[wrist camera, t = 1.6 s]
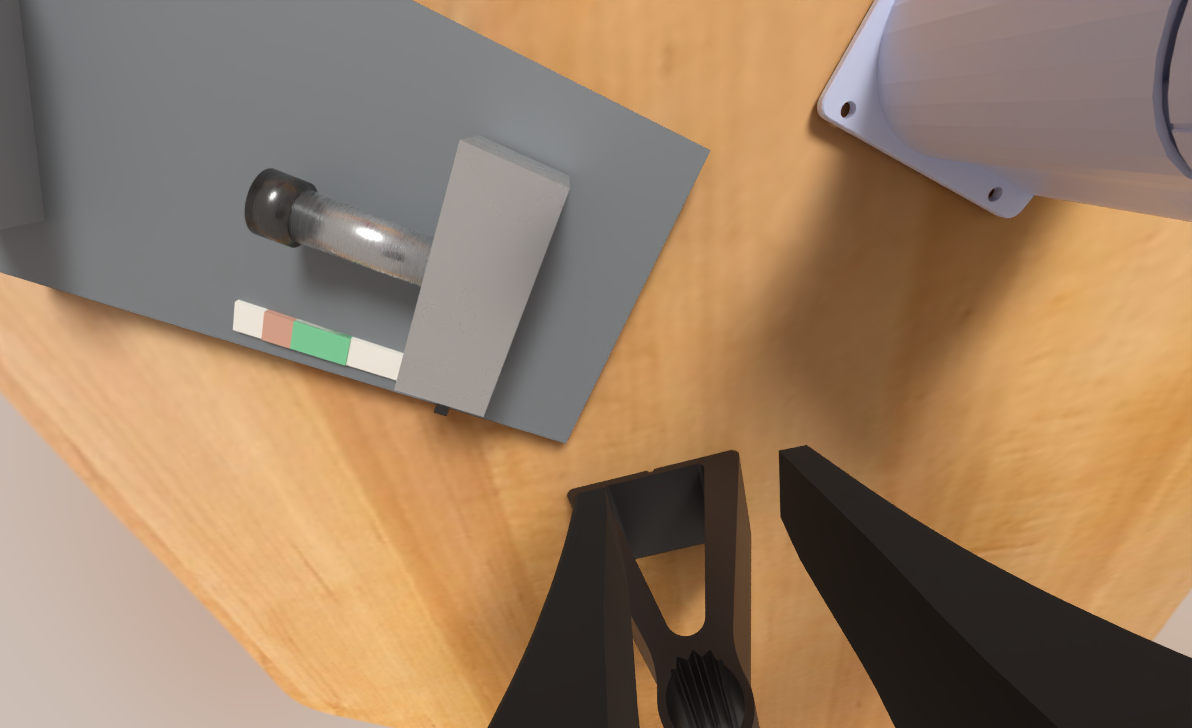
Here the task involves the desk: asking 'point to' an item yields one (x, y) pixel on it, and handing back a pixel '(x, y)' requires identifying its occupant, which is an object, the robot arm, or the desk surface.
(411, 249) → the gauge plunger
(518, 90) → the frame
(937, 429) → the desk surface
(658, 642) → the phone stand
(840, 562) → the robot arm
